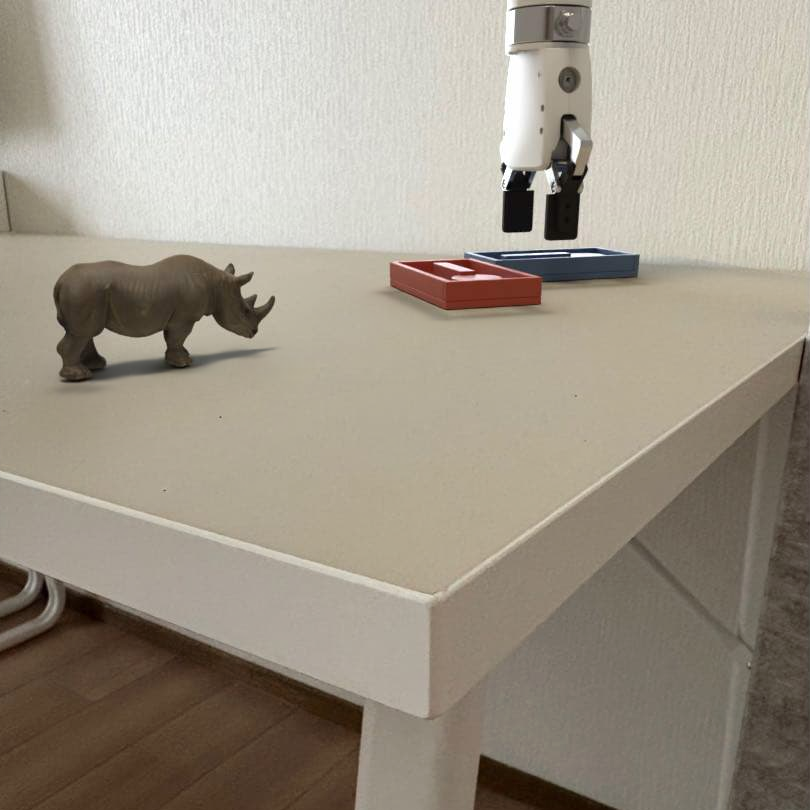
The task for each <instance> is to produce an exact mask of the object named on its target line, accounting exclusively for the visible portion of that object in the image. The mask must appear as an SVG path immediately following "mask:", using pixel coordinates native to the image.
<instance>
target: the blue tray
mask: <svg viewBox="0 0 810 810" xmlns="http://www.w3.org/2000/svg"><path fill="white" fill-rule="evenodd" d="M556 252H566V253H595V254H603V255H601V256H577V257H554V258H531V259H507V260H501V255H508V254H532V253H556ZM470 258H472V259H476V260H479V261H483V262H487V263H491V264H494V265H498V266H502V267H506V268H509V269H513V270H517V271H520V272H524V273H528V274H532V275H535V276H539V277H542V283H543V282H559V281H561V282H562V281H578V280H579V281H580V280H600V279H601V280H602V279H619V278H621V279H622V278H637V277H638V276H639V269H640V268H639V267H640V258H641V254H639V253H633V252H629V251H628V252H627V251H622V250H617V249H611V248H605V247H599V246H592V247H591V246H590V247H569V248H568V247H567V248H566V247H565V248H544V249H543V248H542V249H540V248H539V249H519V250H518V249H517V250H515V249H514V250H494V251H493V250H490V251H467V252H464V253H463V259H470Z"/></svg>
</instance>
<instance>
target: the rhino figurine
mask: <svg viewBox="0 0 810 810" xmlns="http://www.w3.org/2000/svg"><path fill="white" fill-rule="evenodd" d="M235 273H236V268H235V265H234V264H233V263H232V262H229V263H228V264H227V265H226V267H225V268H224V269H220V268H218V267H216V266H215V265H214V264H212V263H209V262H207V261H206V260H204V259H202V258H199V257H197V256H194V255H190V254H186V253H185V254H183V253H182V254H181V253H180V254H174V255H171V256H168V257H165V258H163V259H161V260H160V261H157V262H154V263H152V264H147V265H136V264H130V263H125V262H122V261H118V260H109V259H108V260H107V259H106V260H100V261H94V262H79V263H74V264H72V265H71V266H70V267H68V268H67V269H66V270H65V271H63V272H62V274H61V275H60V276H59V277H58V279H57V280H56V282H55V284H54V285H53V291H52V292H53V293H52V297H53V303H54V305H55V309H56V321H57V322H58V324H59V325H60V326H61V327H62V328H63V330H64V331H65V334H64V335H63V337H62V338H61V339H60V340H59V341H58V343H57V344H56V353H57V354H58V355H59V356H60V358H61V360H62V367H61V369H60V370H59V373H58V375H59V377H60V378H62V379H66V380H74V381H75V380H76V381H77V380H81V379H86V378H92V376H93V373H92V371H91V370H95V369H99V368H105V367H106V366H107V363H108V362H107V360H106V358H105V357H104V356H103V355H101V354H99V351H98V350H97V347H96V344H95V340H94V338H95V337H98V336H99V335H101V334H102V333H103V332H104V330H105V329H106V330H107V331H109V332H112V333H114V334H117V335H120V336H123V337H128V338H135V339H136V338H137V339H139V338H146V337H151V336H153V335H155V334H158V333H160V332H162V334H163V339H164V340H163V341H164V342H165V343H166V344H165V345H166V349H165V351H164V360H165V362H167V363H168V364H170V365H172V366H176V367H184V366H185V367H186V366H191V365H192V364H193V363H194V360H193V358H192V357H191V355H190V352H189V351H188V349H187V348H186V347H185V346H184V344H185V341H186V340H187V338H188V337H189V336H190V334H191V333H192V331H193V328H194V326H195V324H196V322H200V321H201V319H202V318H203V317H204V316H205V317H210V316H212V318H213V320H214V321H215V322H216V324H217V325H218V326H219V327H221V328H222V329H223V330H226V331H228V332H229V333H232V334H234V335H236V336H240V337H243V338H245V339H250V340H251V339H253V338H254V337H255V336H256V335H257V333H258V332H259V325H260V323H261V322H262V321H263V320H264V319H265V318H266V317H267V316H268V315H269V314H270V312H271V311H272V309H273V308H274V305H275V302H276V295H271V296H270V298H269V299H268V301H267V302H266V303H265V304H263V305H260V306H257V307H255V304H256V301H257V299H258V294H257V293H254V294H252V295H250V296H248V297H243V295H242V290H241V289H242V287H243V286H245V285H247V284H248V283H249V282H251V281H252V278H253V276H254V274H255V272H254V271H250V272H248V273H245V274H241V275H238V276H237V275H235Z"/></svg>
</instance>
